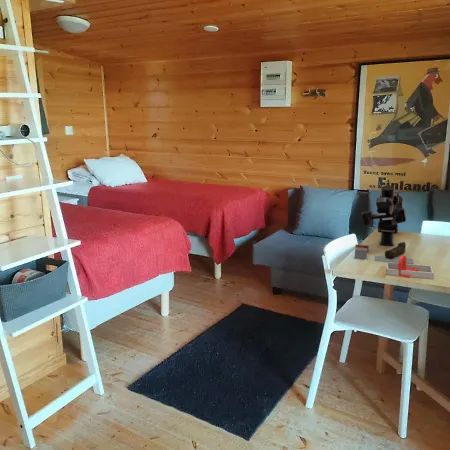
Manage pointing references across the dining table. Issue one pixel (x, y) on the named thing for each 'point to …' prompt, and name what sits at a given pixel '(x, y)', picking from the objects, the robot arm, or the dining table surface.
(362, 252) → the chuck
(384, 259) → the mat
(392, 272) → the parts frame
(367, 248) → the key
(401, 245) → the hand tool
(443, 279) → the dining table surface
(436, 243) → the dining table surface
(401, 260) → the bracket
